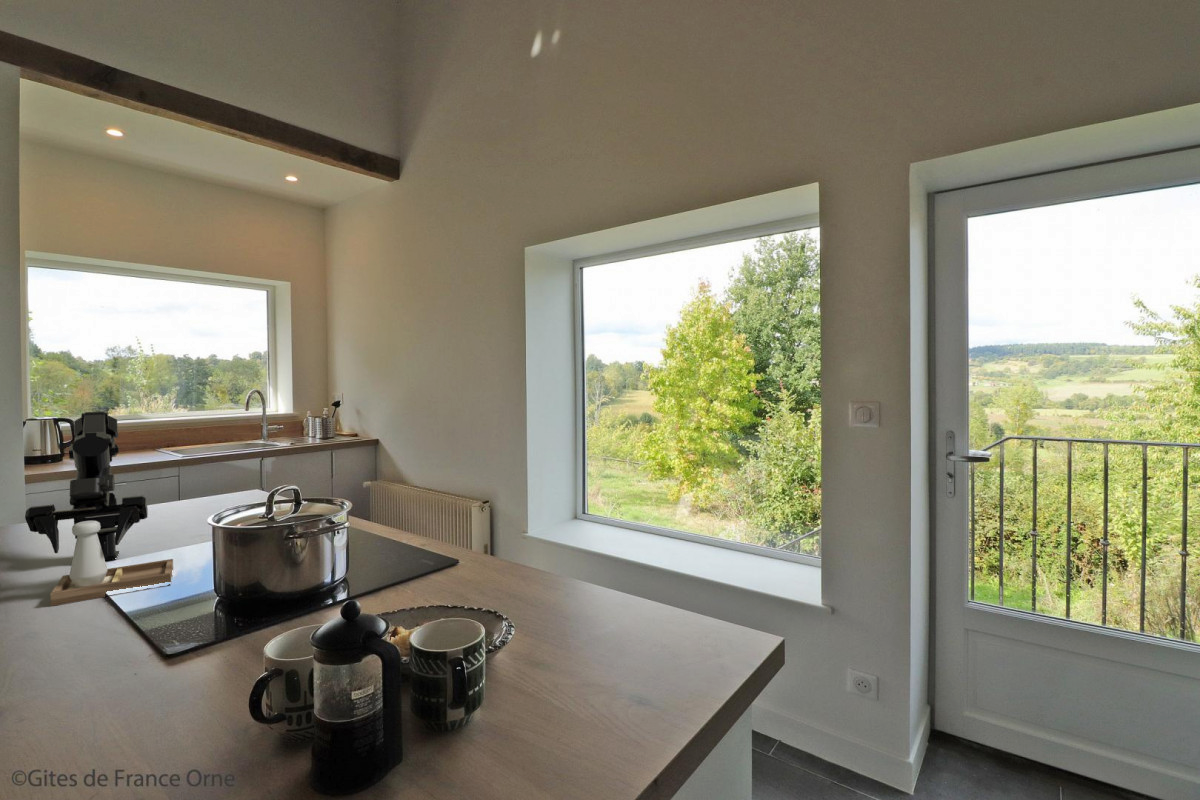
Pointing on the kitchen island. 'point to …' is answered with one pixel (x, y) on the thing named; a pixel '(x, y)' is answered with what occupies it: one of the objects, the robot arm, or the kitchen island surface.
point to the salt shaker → (87, 555)
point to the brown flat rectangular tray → (113, 581)
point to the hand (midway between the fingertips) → (86, 548)
